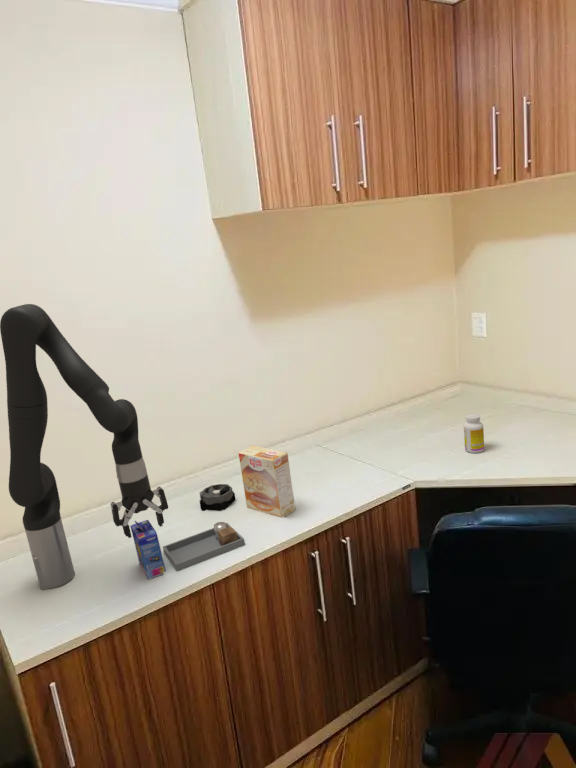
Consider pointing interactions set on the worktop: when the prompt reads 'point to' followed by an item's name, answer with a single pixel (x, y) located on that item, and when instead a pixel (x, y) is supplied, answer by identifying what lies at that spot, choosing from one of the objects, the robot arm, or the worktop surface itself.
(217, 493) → the cpu cooler
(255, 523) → the worktop surface
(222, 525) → the metal ball part
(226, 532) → the walnut block part
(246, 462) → the coffeecake box
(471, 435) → the supplement bottle
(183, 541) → the parts tray
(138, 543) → the ink cartridge box
